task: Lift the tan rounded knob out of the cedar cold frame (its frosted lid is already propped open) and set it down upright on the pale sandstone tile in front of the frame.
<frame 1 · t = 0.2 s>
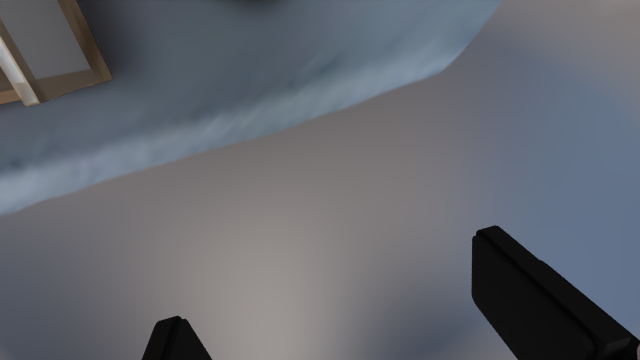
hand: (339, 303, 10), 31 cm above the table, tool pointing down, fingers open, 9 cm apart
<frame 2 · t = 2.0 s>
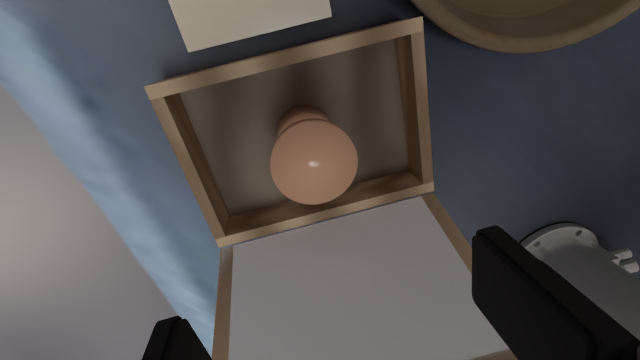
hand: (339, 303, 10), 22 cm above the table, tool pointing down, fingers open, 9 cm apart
cold frame: (304, 131, 29), on the table
lid: (347, 294, 23), point 12 cm above the table, hinge at 105.0°
tan rounded knob: (305, 134, 29), point 1 cm above the table, touching cold frame
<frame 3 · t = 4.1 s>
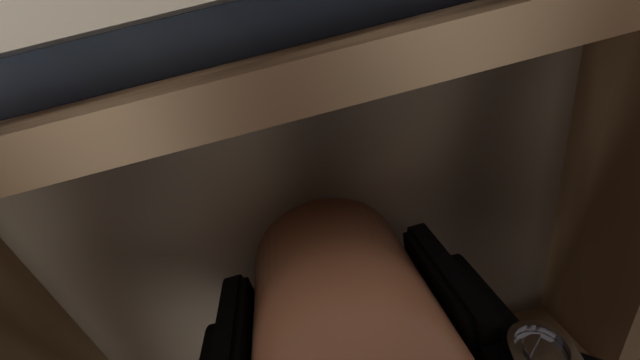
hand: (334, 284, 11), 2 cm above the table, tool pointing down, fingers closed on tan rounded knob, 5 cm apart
cold frame: (323, 243, 13), on the table
tan rounded knob: (327, 259, 12), point 1 cm above the table, touching cold frame, gripper
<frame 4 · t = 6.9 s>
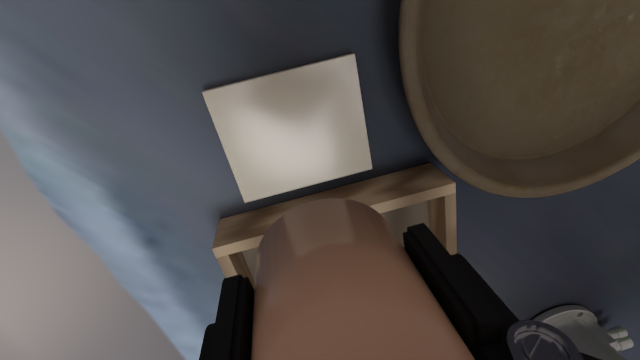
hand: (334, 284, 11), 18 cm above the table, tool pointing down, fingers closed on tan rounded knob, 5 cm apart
plant saucer: (555, 14, 26), on the table
cold frame: (340, 250, 33), on the table
tan rounded knob: (327, 260, 12), point 17 cm above the table, touching gripper
sandstone tile: (294, 130, 26), on the table
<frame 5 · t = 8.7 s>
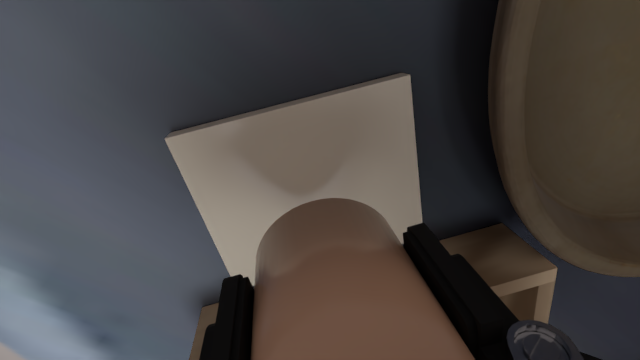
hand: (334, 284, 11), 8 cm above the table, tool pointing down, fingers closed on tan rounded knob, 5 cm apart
cold frame: (370, 335, 24), on the table
tan rounded knob: (327, 259, 12), point 6 cm above the table, touching gripper
sandstone tile: (310, 187, 17), on the table
when the fingers open (4 cm above the table, at t = 10.0 s): tan rounded knob drops 1 cm, resting on sandstone tile.
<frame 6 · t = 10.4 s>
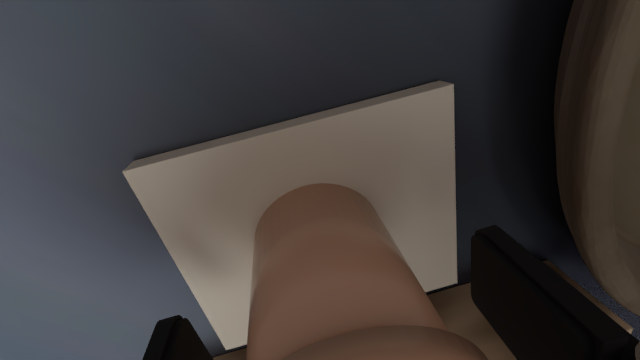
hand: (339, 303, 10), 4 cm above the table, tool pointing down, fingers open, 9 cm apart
tan rounded knob: (318, 240, 13), point 1 cm above the table, touching sandstone tile
sandstone tile: (318, 224, 14), on the table
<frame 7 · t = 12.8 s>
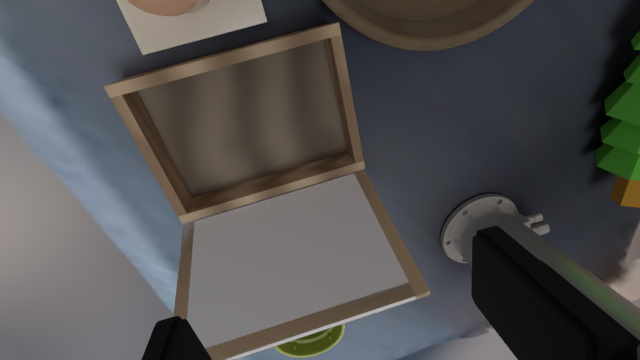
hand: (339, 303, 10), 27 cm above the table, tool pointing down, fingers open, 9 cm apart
plant pot: (300, 282, 47), on the table
cold frame: (253, 120, 34), on the table
lid: (287, 254, 28), point 12 cm above the table, hinge at 105.0°
decorative tree: (619, 91, 42), on the table
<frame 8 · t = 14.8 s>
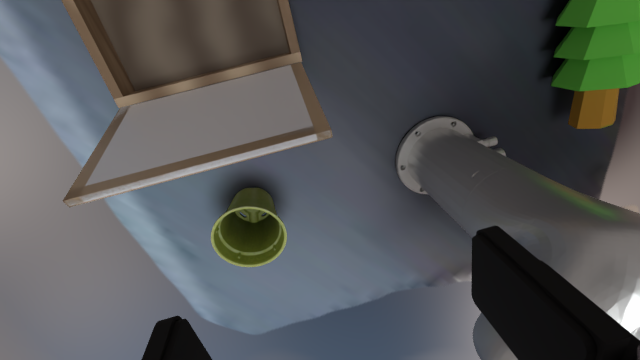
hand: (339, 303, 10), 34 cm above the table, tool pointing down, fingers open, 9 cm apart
plant pot: (252, 203, 47), on the table
cold frame: (193, 12, 35), on the table
lid: (208, 120, 29), point 12 cm above the table, hinge at 105.0°
decorative tree: (573, 9, 41), on the table
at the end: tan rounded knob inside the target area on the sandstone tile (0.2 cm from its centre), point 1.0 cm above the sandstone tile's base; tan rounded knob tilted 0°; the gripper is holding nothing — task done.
